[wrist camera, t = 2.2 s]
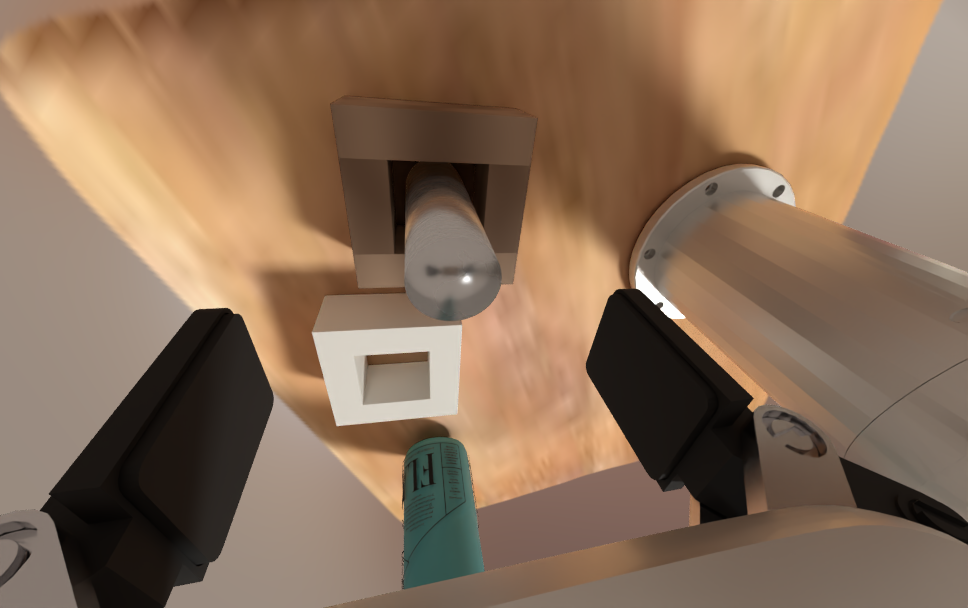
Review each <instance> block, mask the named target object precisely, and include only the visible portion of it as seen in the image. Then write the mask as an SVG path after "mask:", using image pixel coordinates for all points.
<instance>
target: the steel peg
mask: <svg viewBox="0 0 968 608" xmlns="http://www.w3.org/2000/svg"><path fill="white" fill-rule="evenodd" d="M501 281H502V273H501V268H500V264H499V262H498V260H497V257H496V255H495V253H494V251H493V248H492V246H491V244H490V242H489V240H488V237H487V235H486V233H485V231H484V228H483V226H482V224H481V222H480V220H479V217H478V215H477V213H476V211H475V208H474V206H473V204H472V202H471V200H470V197H469V195H468V193H467V191H466V188H465V186H464V184H463V182H462V180H461V177H460V175H459V173H458V172H457V170H456V169H455V168H454V167H453V166H452V165H451V164H450V163H448V162H426V161H420V162H418V163H417V164H416V165H415V166H413V168H412V169H411V170H410V172H409V174H408V176H407V179H406V204H405V274H404V285H405V290H406V294H407V296H408V298H409V300H410V302H411V303H412V304H413V305H414V307H415V308H416V309H418V310H419V311H420V312H421V313H423V314H425V315H426V316H429V317H431V318H434V319H437V320H443V321H458V320H463V319H467V318H470V317H472V316H475V315H477V314H479V313H480V312H482V311H483V310H485V309H486V308H487V307H488V306H489V305H490V304H491V303H492V302H493V300H494V299H495V298H496V296H497V294H498V292H499V289H500V286H501Z"/></svg>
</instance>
